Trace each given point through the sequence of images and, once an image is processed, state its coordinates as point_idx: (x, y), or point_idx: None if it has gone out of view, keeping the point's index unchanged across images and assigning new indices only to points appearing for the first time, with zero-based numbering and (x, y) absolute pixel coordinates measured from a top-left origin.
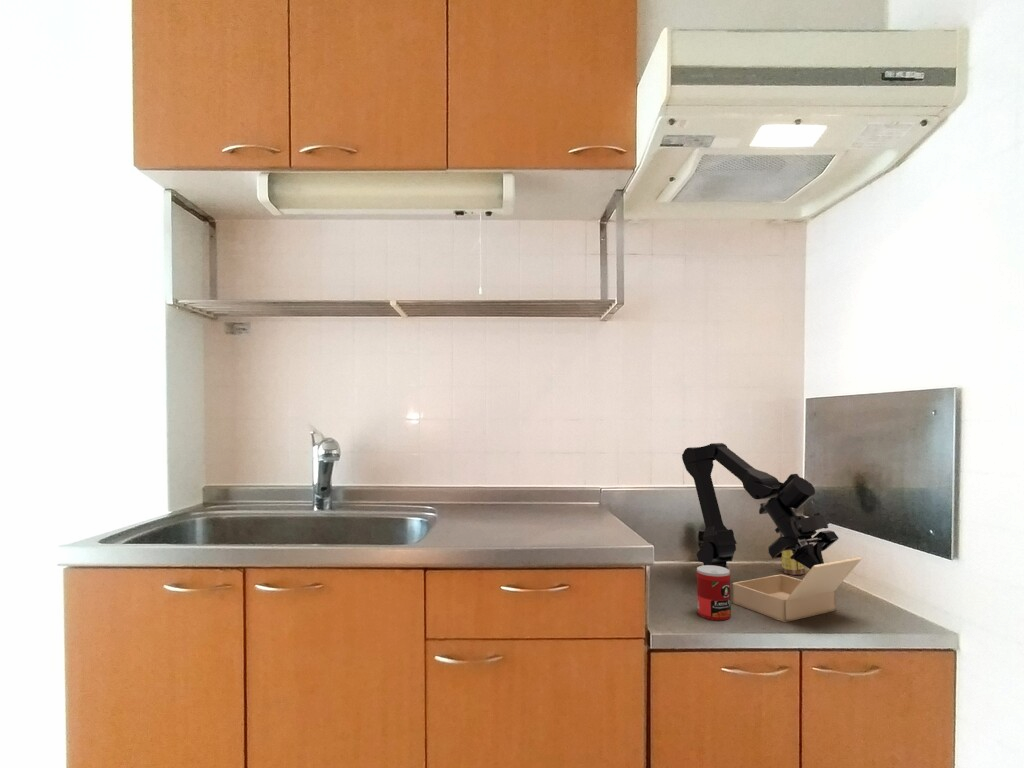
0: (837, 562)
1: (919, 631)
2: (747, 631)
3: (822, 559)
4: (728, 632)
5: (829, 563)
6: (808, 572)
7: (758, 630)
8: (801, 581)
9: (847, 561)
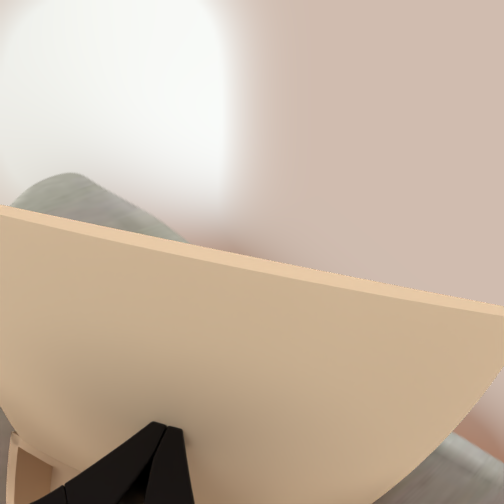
0: (203, 250)
1: (88, 198)
2: (467, 476)
3: (60, 494)
4: (495, 482)
5: (351, 285)
6: (482, 392)
7: (445, 473)
8: (425, 455)
9: (50, 218)
